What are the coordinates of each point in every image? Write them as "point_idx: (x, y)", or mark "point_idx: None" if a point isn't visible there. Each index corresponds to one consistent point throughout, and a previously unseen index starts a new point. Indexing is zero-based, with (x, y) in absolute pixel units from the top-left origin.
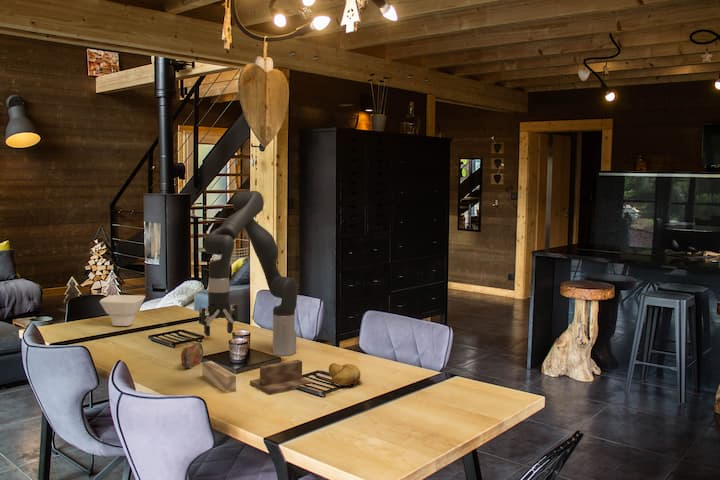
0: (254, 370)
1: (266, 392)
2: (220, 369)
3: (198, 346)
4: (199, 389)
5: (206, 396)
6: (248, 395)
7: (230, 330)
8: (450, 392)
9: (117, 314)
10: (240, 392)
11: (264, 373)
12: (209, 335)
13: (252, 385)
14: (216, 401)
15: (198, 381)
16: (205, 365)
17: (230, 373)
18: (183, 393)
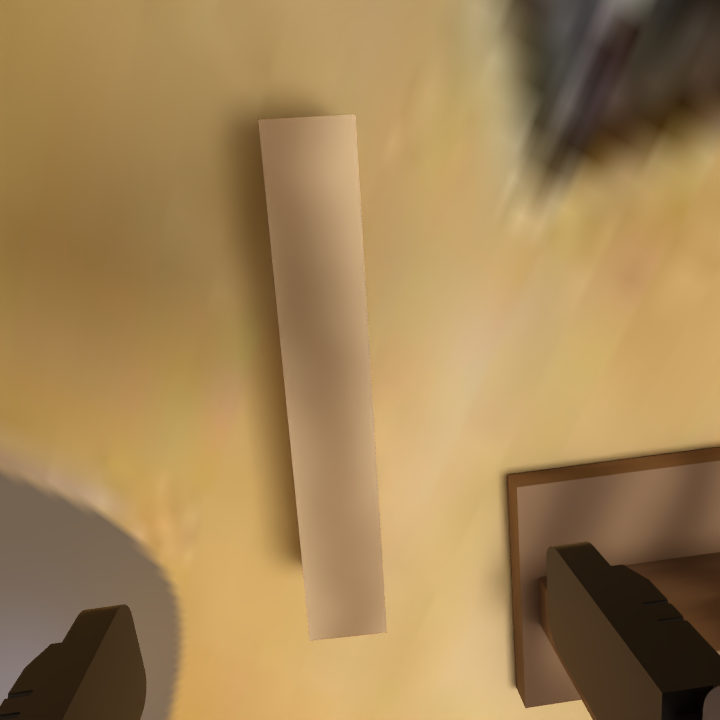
0: (700, 162)
1: (517, 664)
2: (334, 439)
3: None
4: (168, 427)
5: (174, 576)
6: (409, 652)
7: (584, 676)
8: None
9: None
10: (390, 588)
11: (579, 689)
12: (136, 703)
13: (510, 507)
14: (205, 676)
15: (211, 241)
16: (267, 206)
17: (367, 574)
18: (45, 462)
